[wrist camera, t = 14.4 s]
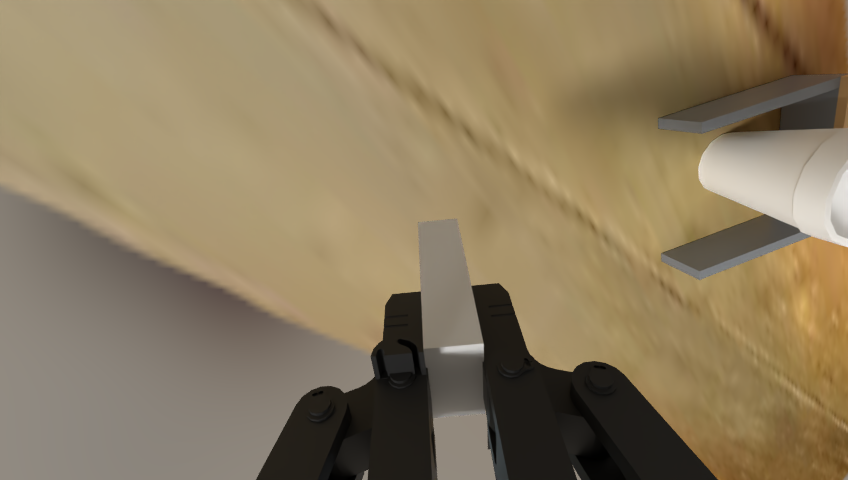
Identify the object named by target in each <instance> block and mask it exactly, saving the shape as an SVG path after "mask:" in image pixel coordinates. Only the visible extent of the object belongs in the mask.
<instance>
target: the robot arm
mask: <svg viewBox="0 0 848 480" xmlns="http://www.w3.org/2000/svg"><path fill="white" fill-rule="evenodd" d="M418 233H419V256H420V280H421V292H411V293H400V294H392V296H391V297H390V299H389V300H388V302H387V303H386V305H385V319H384V332H383V341H381V342H379V344H378V345H377V346H376V347H375V348H374V349H373V352H372V355H371V360H372V364H373V369H374V374H375V377H374V378H373V379H372V380H371V381H370V382H368V383H367V384H366V385H364V386H362V387H360V388H357V389H354V390H352V391H349V392H346V393H343V392H342V391H341V390H340V389H339V388H335V387H332V386H325V387H319V388H317V389H314V390H311V391H310V392H308V393H307V394H306V395H304V396H303V397H302V398H301V399H300V401H299V402H298V403H297V404H296V406H295V408H294V410H293V412H292V414H291V416H290V417H289V419H288V421H287V423H286V425H285V427H284V428H283V431H282V432H281V434H280V436H279V438H278V440H277V442H276V443H275V445H274V447H273V449H272V451H271V453H270V455H269V456H268V458H267V460H266V462H265V464H264V466H263V468H262V469H261V471H260V473H259V475H258V477H257V479H256V480H362V478H363V475H364V471H366V470H368V469H369V470H368V480H437V465H436V449H435V435H434V428H433V418H440V417H452V416H464V415H475V414H485V410H486V415H487V426H488V449H491V454H492V460H493V466H494V471H495V477H496V480H577V478H576V475H575V472H574V469H573V467H574V468H575V470H576V472H577V473H578V475H579V477H580V478H581V480H718V479H717V478H716V477H715V476H714V475H713V474H712V473H711V472H710V470H709V469H708V468H707V467H706V466H705V465H704V464H703V463H702V461H701V460H700V459H699V458H698V457H697V456H696V455H695V454H694V452H693V451H692V450H691V449H690V448H689V447H688V446H687V445H686V443H685V442H684V441H683V440H682V439H681V438H680V437H679V436H678V434H677V433H676V432H675V431H674V430H673V429H672V428H671V427H670V425H669V424H668V423H667V422H666V421H665V420H664V419H663V418H662V417H661V415H660V414H659V413H658V412H657V411H656V410H655V409H654V408H653V406H652V405H651V404H650V403H649V402H648V401H647V400H646V399H645V397H644V396H643V395H642V394H641V393H640V392H639V391H638V390H637V388H636V387H635V386H634V385H633V384H632V383H631V382H630V381H629V379H628V378H627V377H626V376H625V375H624V374H623V373H622V372H620V371H619V370H618V369H617V368H615V367H613V366H611V365H609V364H606V363H602V362H596V361H592V362H584V363H582V364H580V365H578V366H577V367H576V368H575V369H574V371H573V372H568V371H563V370H557V369H553V368H549V367H546V366H544V365H542V364H540V363H539V362H537V361H536V360H535V359H534V358H533V357H532V356H531V355H530V354H529V352H528V350H527V347H526V344H525V341H524V338H523V335H522V332H521V329H520V326H519V323H518V320H517V317H516V315H515V311H514V308H513V306H512V302H511V299H510V296H509V293H508V292H507V291H506V290H505V289H504V288H503V287H502V286H501V285H500V284H499V283H497V284H486V285H475V286H471V282H470V277H469V273H468V268H467V263H466V258H465V254H464V249H463V244H462V240H461V235H460V230H459V226H458V221H457V219H447V220H437V221H426V222H418ZM572 465H573V466H572Z"/></svg>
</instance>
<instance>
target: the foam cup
mask: <svg viewBox="0 0 848 480" xmlns="http://www.w3.org/2000/svg"><path fill="white" fill-rule="evenodd" d="M698 169H699V180H700V182H701V183H702V185H703V187H704V188H705V189H707V190H709V191H712V192H714V193H716V194H719V195H721V196H723V197H726V198H728V199H731V200H733V201H735V202H738V203H740V204H742V205H745V206H747V207H749V208H752V209H754V210H756V211H759V212H761V213H764V214H766V215H768V216H771V217H773V218H775V219H778V220H780V221H782V222H785V223H787V224H790V225H792V226H794V227H797V228H799V230H800V232H802V233H805V234H807V235H810V236H812V237H815V238H818V239H822V240H825V241H828V242H832V243H835V244H838V245H842V246H845V247H848V128H834V129H806V130H777V131H749V132H732V133H726V134H722V135H720V136H719V137H718V138H716V139H715V140H713V141H712V142H711V143H710V144H709V146H708V147H707V149H706V150H705V151H704V153H703V155H702V158H701V161H700V164H699V167H698Z"/></svg>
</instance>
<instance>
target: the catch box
mask: <svg viewBox="0 0 848 480" xmlns="http://www.w3.org/2000/svg"><path fill="white" fill-rule="evenodd" d="M780 107H782V109H781V120H780V130H806V129H834V128H848V74H820V75H792V76H788V77H785V78H782V79H779V80H776V81H773V82H770V83H767V84H764V85H760V86H757V87H754V88H751V89H748V90H745V91H742V92H739V93H736V94H733V95H729V96H726V97H723V98H720V99H717V100H714V101H711V102H708V103H705V104H701V105H698V106H695V107H692V108H689V109H686V110H683V111H680V112H677V113H674V114H670V115H667V116H664V117H661V118H658V129H666V130H675V131H683V132H692V133H701V134H702V133H705V132H708V131H711V130H714V129H717V128H720V127H723V126H726V125H729V124H732V123H735V122H738V121H741V120H744V119H747V118H750V117H753V116H756V115H759V114H762V113H765V112H768V111H771V110H774V109H777V108H780ZM808 237H811V236H810V235H807V234H805V233H802V232H800V230H799V228H797V227H794V226H792V225H790V224H787V223H785V222H782V221H780V220H778V219H775V218H773V217H771V216H768V215H766V214H765V215H763V216H760V217H757V218H755V219H752V220H749V221H747V222H744V223H741V224H739V225H736V226H733V227H731V228H728V229H725V230H723V231H720V232H717V233H715V234H712V235H709V236H707V237H704V238H701V239H699V240H696V241H693V242H691V243H688V244H685V245H683V246H680V247H677V248H675V249H672V250H669V251H667V252H664V253H661V256H662V262H664V263H666V264H668V265H670V266H672V267H674V268H676V269H678V270H680V271H682V272H684V273H686V274H689V275H691V276H693V277H695V278H697V279H699V280H700V279H703V278H706V277H708V276H711V275H713V274H716V273H718V272H721V271H723V270H726V269H729V268H731V267H734V266H736V265H739V264H741V263H744V262H747V261H749V260H752V259H754V258H757V257H759V256H762V255H764V254H767V253H770V252H772V251H775V250H777V249H780V248H782V247H785V246H787V245H790V244H793V243H795V242H798V241H800V240H803V239H805V238H808Z"/></svg>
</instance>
